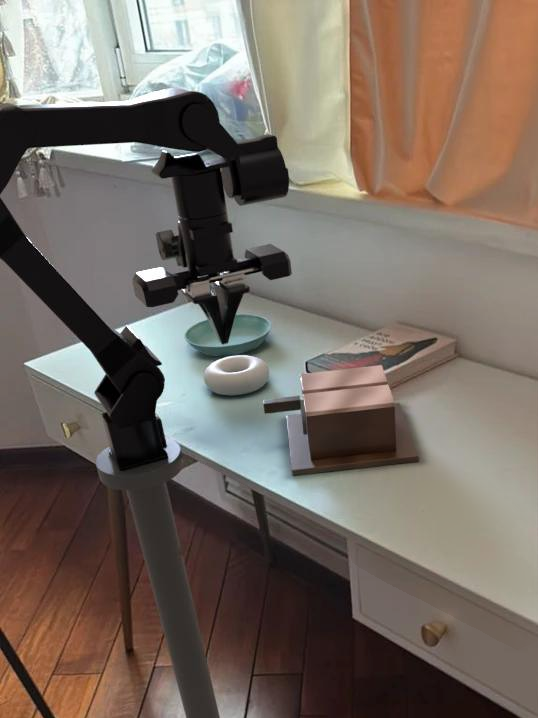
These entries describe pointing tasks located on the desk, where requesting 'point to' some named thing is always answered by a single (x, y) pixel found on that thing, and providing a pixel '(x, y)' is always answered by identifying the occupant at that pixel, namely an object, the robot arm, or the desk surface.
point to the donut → (236, 375)
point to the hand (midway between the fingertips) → (223, 343)
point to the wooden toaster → (348, 423)
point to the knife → (286, 407)
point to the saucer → (242, 338)
